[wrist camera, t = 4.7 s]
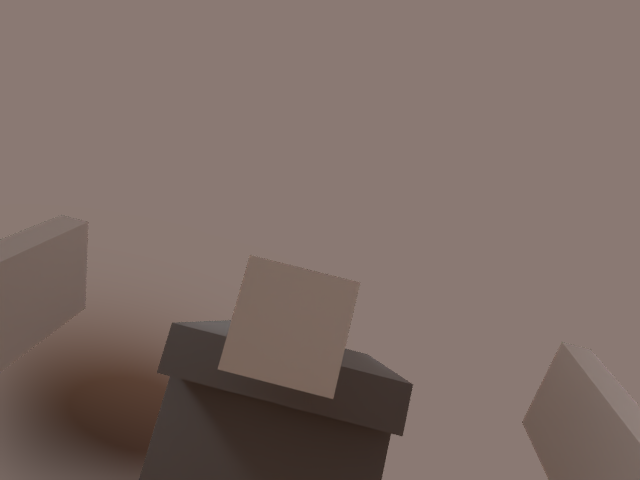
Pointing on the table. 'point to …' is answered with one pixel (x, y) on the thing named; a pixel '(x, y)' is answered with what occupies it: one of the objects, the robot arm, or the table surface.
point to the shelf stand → (268, 418)
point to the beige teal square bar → (290, 326)
